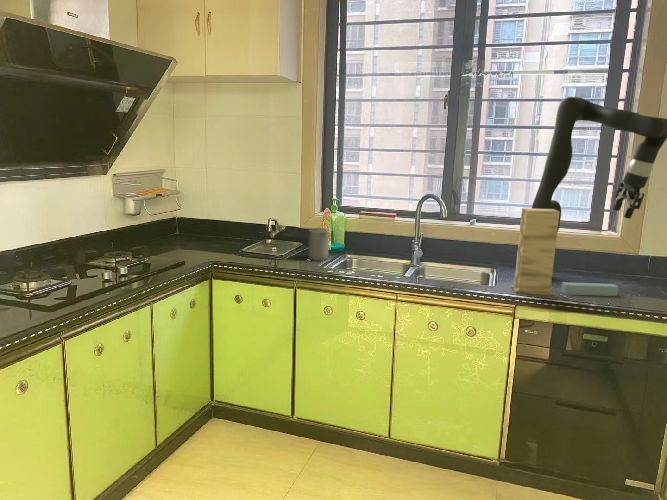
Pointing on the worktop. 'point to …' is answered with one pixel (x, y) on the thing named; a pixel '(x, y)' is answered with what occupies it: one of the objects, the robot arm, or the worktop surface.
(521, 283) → the oak block
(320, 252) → the pillar candle
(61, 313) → the worktop surface
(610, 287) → the slate bar
